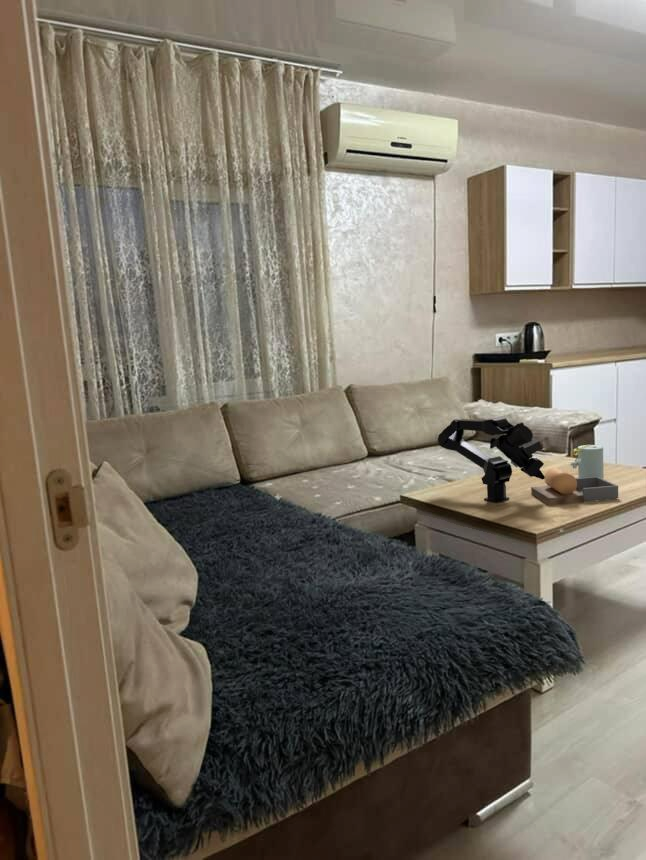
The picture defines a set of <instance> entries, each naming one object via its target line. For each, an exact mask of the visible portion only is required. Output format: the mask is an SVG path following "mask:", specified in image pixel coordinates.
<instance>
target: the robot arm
mask: <svg viewBox="0 0 646 860" xmlns="http://www.w3.org/2000/svg"><path fill="white" fill-rule="evenodd" d="M465 431H473V432H474V431H475V432H481V433H482V432H483V433H484V434H485V435H489V436H498V437H494V438H493V437H491V438H490V441H489V444H490V445H489V449H490V450H492V449H494V448H496V449H497V450H498V451H500V453H502V454H503V455H504V456H505V457H506V460H505V459H504V458H503V457H502V456H499V455H498V456H495V457H490V456H489V455H487V454H486V453H484V452H483V451H481V450H479V449H477V448H476V447H474V446H473V445H471V444H470V443H468V442H466V441H465V440H464V435H465ZM533 434H534V433H533V431H532V429H530V428H529V426H527V425H525V423H524V422H519V423H516V424H515V425H514V424H512V423H511V422H509V421H508V420H507V418H506V417H503V416H502V417H496V418H495V417H494V418H489V419H473V418H463V417H460V418H456V419H455V418H454V419H453V420H452V421H451V422H450V424H448V425H447V426H446V427H445V428H444V429H442V432H441V433H439V434H438V437H437V443H438V445H439V446H440V447H441V448H443V449H445V450H448V451H449V450H450V451H454V452H457V453H458V454H460V455H461V456H463V457H464V458H465V459H467V460H469V461H470V462H472V463H474V464H475V465H476V466H478V467H479V468H480V469H482V470H483V473H484V475H483V476H482V477H481V482H482V485H486V489H487V490H486V492H487V493H486V494H487V497H484V498H483V500H484V501H487V502H494V503H497V504H498V503H502V502H505V501H508V500H510V497H508V496H507V487H506V486H507V485H506V483H509V482H510V479H511V476H512V475H513V467H515V468H516V469H517V468H520V471H521V472H522V473H524V474H526V475H527V476H529V477H530V478H532V477H534V478H537V479H540V480H544V478H545V474H543V472H542V470H541V468H542V467H543V466H544V462H543V461H542V460H541V459H539V458H537V457H534V455H533V454H535V453H538V452H539V451H542V450H543V449H544V447H543V445H542V443H541V441H540V440H539V439H538V438H533V437H534V435H533ZM507 459H508V460H507ZM509 460H510V463H509ZM512 465H513V467H512Z"/></svg>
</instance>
